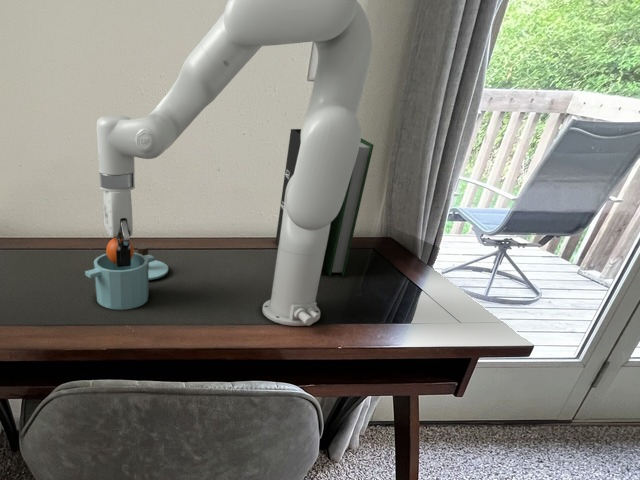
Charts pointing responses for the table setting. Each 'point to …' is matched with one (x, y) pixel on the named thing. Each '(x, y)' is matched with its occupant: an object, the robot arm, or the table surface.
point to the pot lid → (153, 264)
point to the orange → (113, 247)
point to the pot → (121, 282)
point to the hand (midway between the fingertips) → (120, 259)
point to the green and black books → (349, 210)
